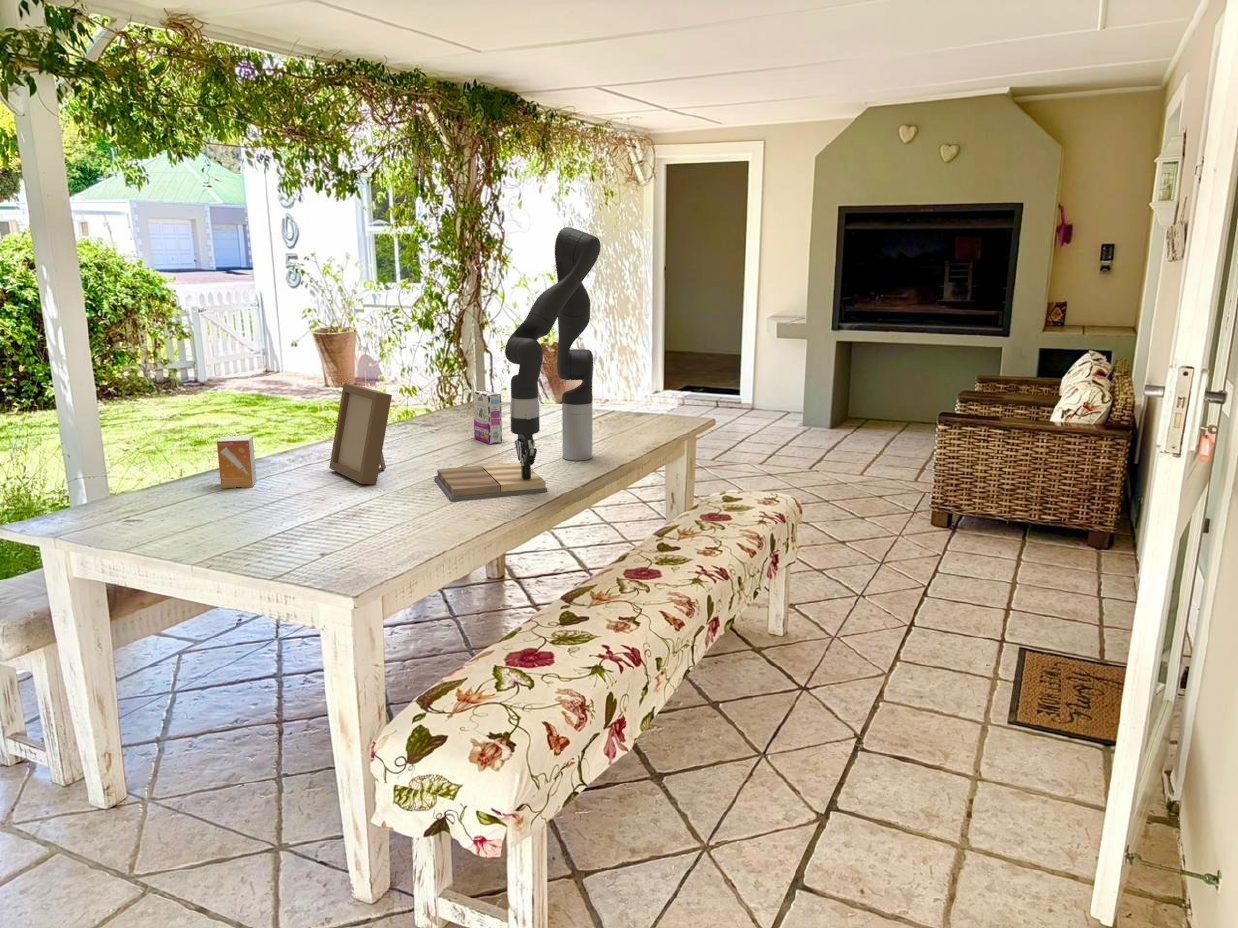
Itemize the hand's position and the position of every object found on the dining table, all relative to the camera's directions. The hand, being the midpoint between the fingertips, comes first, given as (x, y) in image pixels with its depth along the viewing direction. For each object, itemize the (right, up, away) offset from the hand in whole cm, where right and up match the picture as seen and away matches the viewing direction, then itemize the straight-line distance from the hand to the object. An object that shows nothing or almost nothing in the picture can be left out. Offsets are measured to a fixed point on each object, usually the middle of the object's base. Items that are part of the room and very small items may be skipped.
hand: (526, 478), depth 231 cm
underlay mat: (-10, -2, +4) cm, 11 cm away
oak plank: (-4, 0, +6) cm, 8 cm away
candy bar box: (-19, +11, +59) cm, 63 cm away
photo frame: (-46, +1, +14) cm, 48 cm away
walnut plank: (-16, -2, +2) cm, 16 cm away
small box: (-78, -2, +3) cm, 78 cm away
